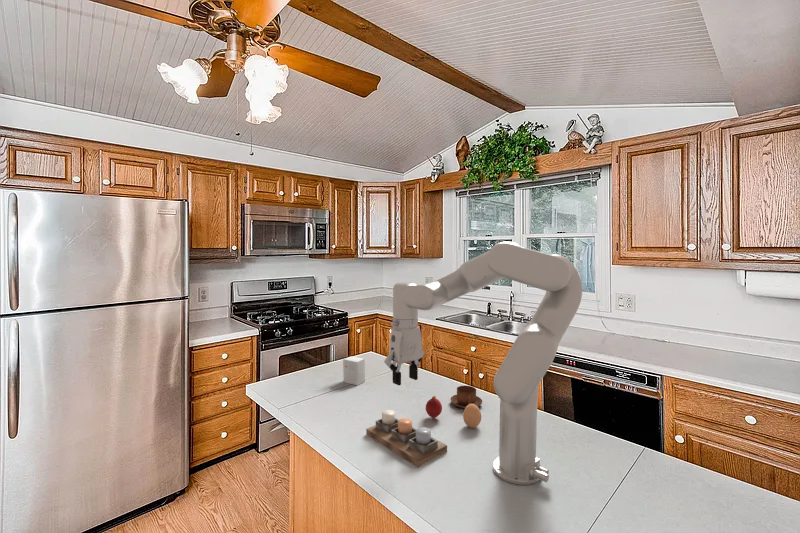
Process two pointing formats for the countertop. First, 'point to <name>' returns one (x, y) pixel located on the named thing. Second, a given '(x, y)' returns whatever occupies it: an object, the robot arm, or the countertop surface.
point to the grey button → (423, 436)
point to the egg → (472, 416)
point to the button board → (406, 443)
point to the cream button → (388, 417)
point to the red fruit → (433, 407)
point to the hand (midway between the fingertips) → (405, 380)
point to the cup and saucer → (466, 397)
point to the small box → (354, 370)
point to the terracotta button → (405, 426)
